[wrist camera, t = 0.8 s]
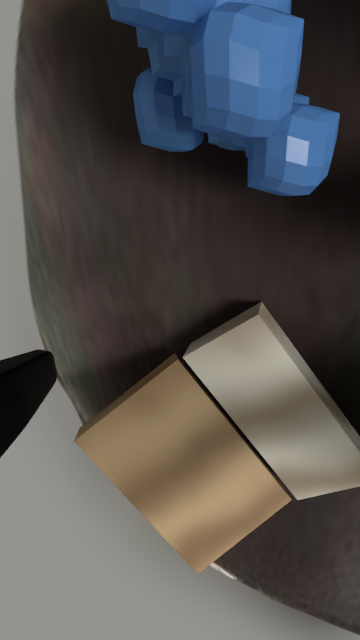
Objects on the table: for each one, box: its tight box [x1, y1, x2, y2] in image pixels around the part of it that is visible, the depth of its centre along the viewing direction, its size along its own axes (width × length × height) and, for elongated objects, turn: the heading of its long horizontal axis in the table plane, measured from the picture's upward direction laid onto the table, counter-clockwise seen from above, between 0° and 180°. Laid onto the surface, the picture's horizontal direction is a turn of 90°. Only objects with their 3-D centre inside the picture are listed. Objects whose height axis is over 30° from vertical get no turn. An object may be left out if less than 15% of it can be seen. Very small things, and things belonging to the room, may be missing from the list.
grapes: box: [107, 0, 340, 196], centre depth 12 cm, size 12×7×12 cm, turn 39°
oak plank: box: [74, 353, 291, 573], centre depth 25 cm, size 14×9×2 cm, turn 40°
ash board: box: [183, 302, 360, 500], centre depth 23 cm, size 14×6×2 cm, turn 40°
